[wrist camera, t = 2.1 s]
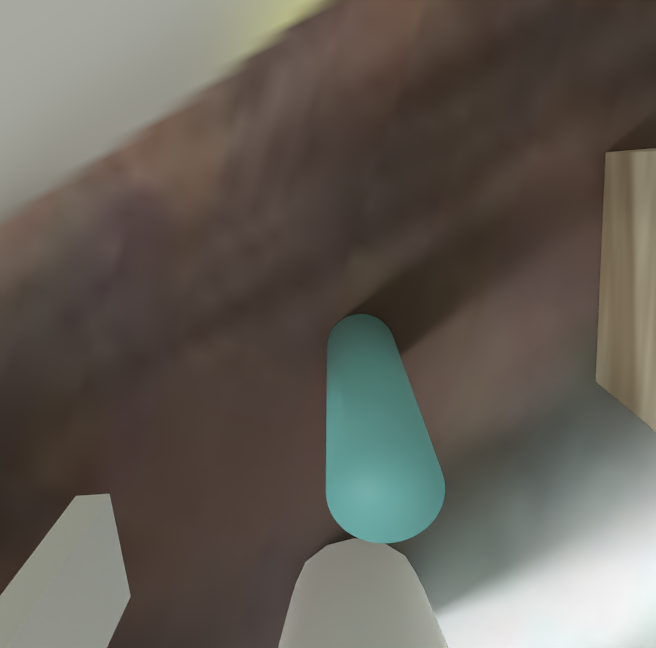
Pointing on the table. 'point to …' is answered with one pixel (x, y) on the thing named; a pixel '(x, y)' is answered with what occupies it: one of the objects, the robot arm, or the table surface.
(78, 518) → the robot arm
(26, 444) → the table surface
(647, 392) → the hole block
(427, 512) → the peg
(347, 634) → the foam cup
